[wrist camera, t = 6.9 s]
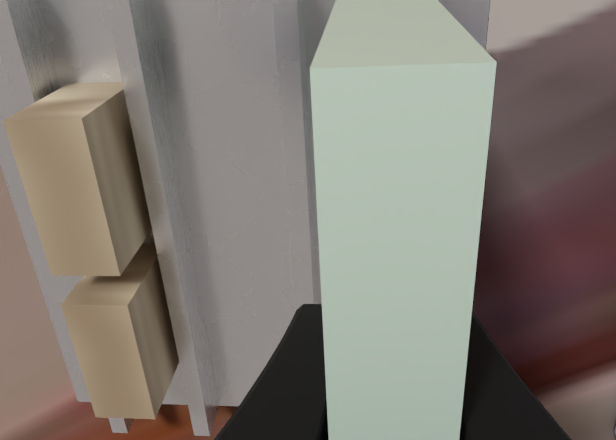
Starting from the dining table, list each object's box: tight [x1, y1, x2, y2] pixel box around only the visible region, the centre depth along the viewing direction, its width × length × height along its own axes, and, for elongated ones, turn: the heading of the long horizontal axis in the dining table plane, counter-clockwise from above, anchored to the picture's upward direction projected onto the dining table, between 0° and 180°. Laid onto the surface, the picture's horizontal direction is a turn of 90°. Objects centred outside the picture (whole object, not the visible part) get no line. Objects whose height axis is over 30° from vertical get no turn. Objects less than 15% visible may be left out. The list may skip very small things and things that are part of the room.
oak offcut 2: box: [61, 243, 179, 419], centre depth 19 cm, size 2×4×4 cm, turn 3°
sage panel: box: [310, 0, 497, 440], centre depth 9 cm, size 1×10×8 cm, turn 3°
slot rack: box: [0, 0, 490, 436], centre depth 18 cm, size 15×16×2 cm
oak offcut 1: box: [3, 82, 152, 276], centre depth 16 cm, size 2×4×4 cm, turn 3°
